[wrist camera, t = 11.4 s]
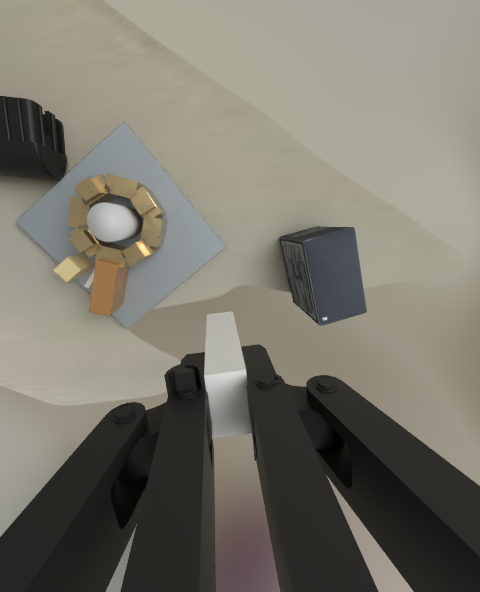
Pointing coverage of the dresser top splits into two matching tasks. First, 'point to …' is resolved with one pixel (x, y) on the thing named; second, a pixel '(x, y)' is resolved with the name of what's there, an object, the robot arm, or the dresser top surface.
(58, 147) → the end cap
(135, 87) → the dresser top surface
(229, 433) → the robot arm
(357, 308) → the small box
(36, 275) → the dresser top surface
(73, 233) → the gold ring with handle
